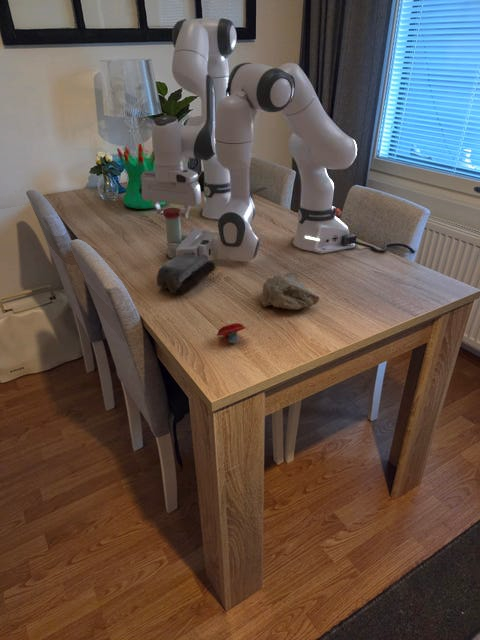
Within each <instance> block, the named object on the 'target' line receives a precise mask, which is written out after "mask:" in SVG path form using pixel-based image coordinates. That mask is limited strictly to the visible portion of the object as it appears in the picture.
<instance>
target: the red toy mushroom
mask: <svg viewBox="0 0 480 640" xmlns="http://www.w3.org/2000/svg"><path fill="white" fill-rule="evenodd" d="M245 329H246V326H244V325H243V324H241V323H238V322H236V323H229V324H227V325H225V326H222V327H221V328H220V329H218V331H217V333H216V336H217V337H222V336H228V342H229V343H230V344H233V345H235V344H236V343H237V342H239V337H238V336H237V333H238V332H240V331H243V330H245Z"/></svg>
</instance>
